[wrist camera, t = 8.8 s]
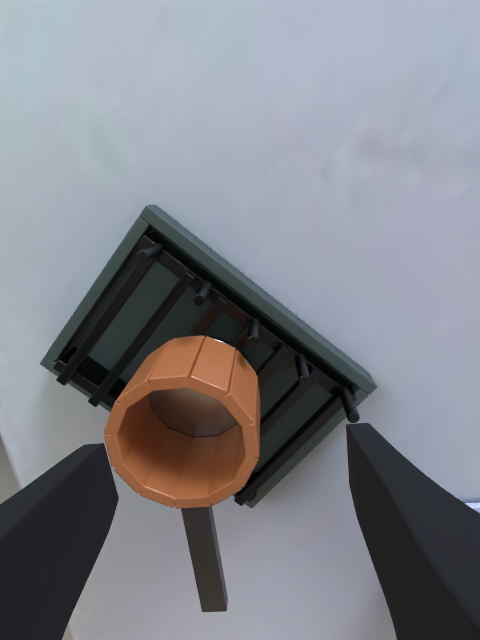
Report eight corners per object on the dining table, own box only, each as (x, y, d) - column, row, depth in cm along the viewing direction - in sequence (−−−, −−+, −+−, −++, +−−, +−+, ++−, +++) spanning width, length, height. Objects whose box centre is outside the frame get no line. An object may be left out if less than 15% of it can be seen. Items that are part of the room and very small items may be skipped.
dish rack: (370, 373, 21) (399, 424, 17) (252, 490, 24) (249, 560, 19) (154, 204, 19) (120, 208, 15) (53, 352, 22) (-2, 395, 17)
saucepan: (129, 339, 18) (89, 383, 14) (252, 327, 18) (248, 370, 13) (172, 535, 22) (150, 618, 17) (276, 531, 21) (279, 615, 17)
